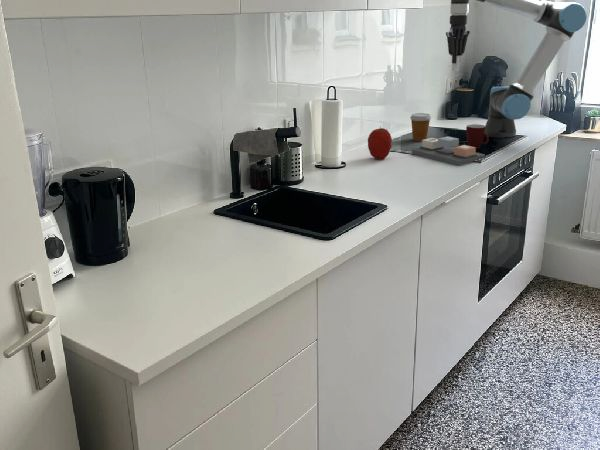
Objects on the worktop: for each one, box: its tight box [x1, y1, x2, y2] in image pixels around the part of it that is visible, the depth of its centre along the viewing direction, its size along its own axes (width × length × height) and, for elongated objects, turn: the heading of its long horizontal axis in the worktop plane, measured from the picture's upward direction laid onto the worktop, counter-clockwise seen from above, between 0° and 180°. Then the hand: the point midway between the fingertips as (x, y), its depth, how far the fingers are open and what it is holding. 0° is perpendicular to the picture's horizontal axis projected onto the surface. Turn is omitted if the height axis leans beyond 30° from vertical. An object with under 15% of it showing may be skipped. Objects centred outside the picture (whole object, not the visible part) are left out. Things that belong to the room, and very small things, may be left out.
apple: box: [367, 126, 393, 160], centre depth 248 cm, size 10×10×14 cm
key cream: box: [421, 137, 442, 149], centre depth 256 cm, size 6×6×3 cm
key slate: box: [437, 136, 460, 148], centre depth 249 cm, size 6×6×3 cm
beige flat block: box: [454, 144, 477, 157], centre depth 243 cm, size 6×6×3 cm
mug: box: [465, 123, 490, 150], centre depth 261 cm, size 10×8×10 cm
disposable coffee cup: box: [410, 112, 432, 142], centre depth 279 cm, size 10×10×12 cm
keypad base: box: [411, 145, 486, 167], centre depth 251 cm, size 16×26×3 cm, turn 35°
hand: (455, 70), depth 264 cm, fingers closed
